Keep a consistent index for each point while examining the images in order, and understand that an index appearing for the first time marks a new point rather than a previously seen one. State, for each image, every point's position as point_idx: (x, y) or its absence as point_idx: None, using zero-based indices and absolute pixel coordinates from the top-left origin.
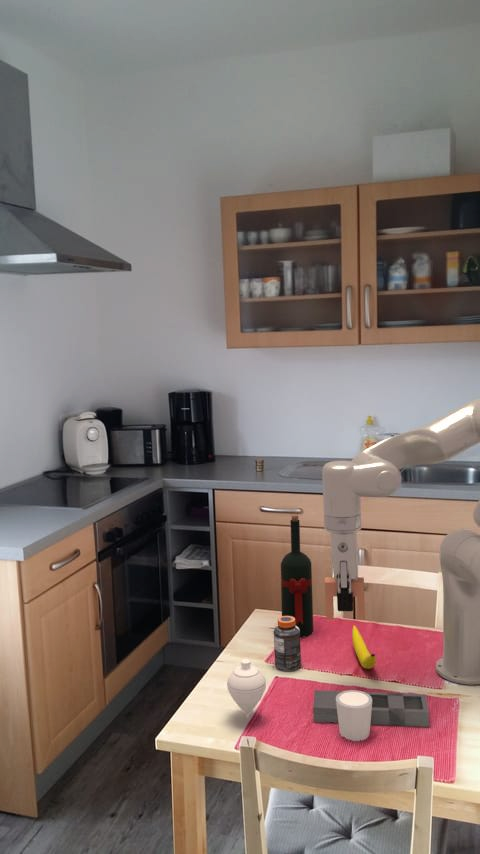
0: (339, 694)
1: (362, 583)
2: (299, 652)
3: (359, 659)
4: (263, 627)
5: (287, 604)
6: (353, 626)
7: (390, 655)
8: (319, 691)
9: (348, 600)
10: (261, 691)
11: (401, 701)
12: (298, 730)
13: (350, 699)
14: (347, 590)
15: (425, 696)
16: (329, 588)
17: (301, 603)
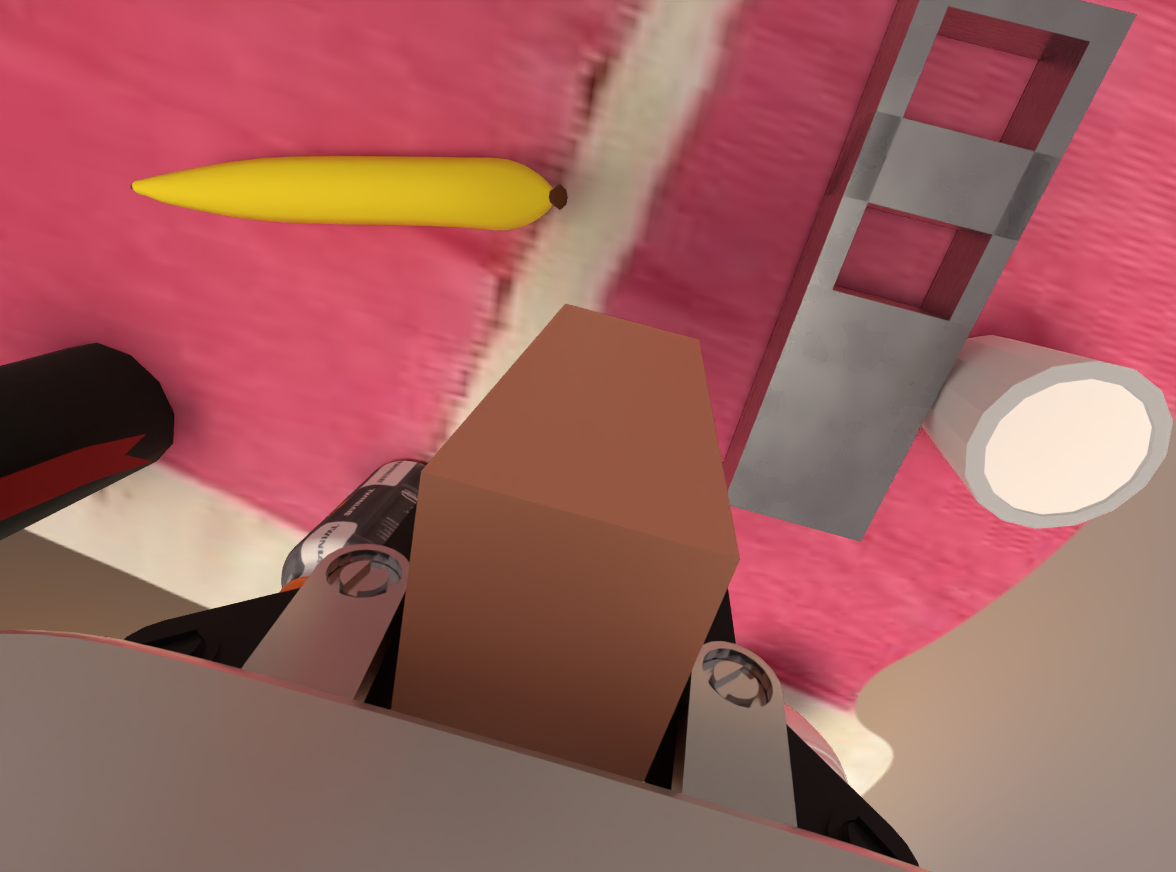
0: (994, 502)
1: (722, 570)
2: (408, 498)
3: (422, 225)
4: (100, 519)
5: (27, 519)
6: (141, 193)
7: (318, 20)
8: (739, 490)
9: (727, 613)
10: (829, 748)
11: (955, 144)
12: (880, 566)
13: (1060, 466)
14: (832, 784)
15: None
16: None
17: (25, 473)
